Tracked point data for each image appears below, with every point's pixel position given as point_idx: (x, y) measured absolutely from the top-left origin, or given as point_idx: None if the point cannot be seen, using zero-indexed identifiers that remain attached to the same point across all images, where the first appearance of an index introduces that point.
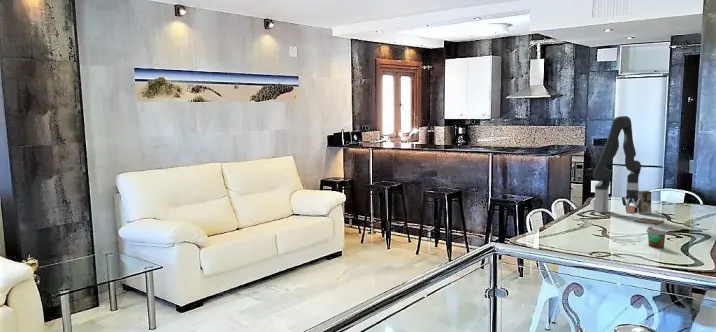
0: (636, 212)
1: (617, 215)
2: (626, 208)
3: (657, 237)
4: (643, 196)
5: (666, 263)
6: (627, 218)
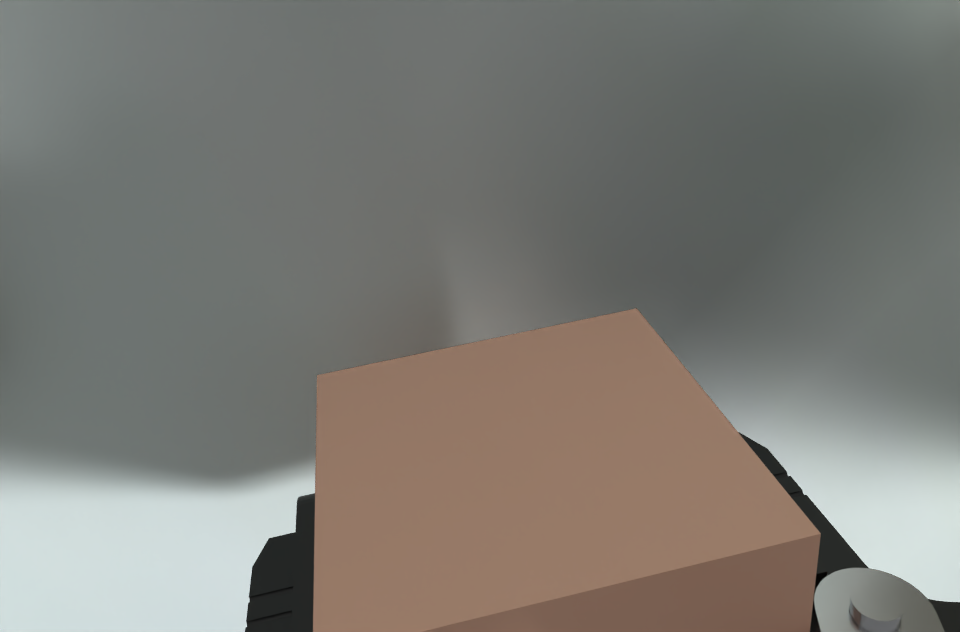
0: None
1: (908, 260)
2: None
3: None
4: None
5: None
6: (417, 58)
